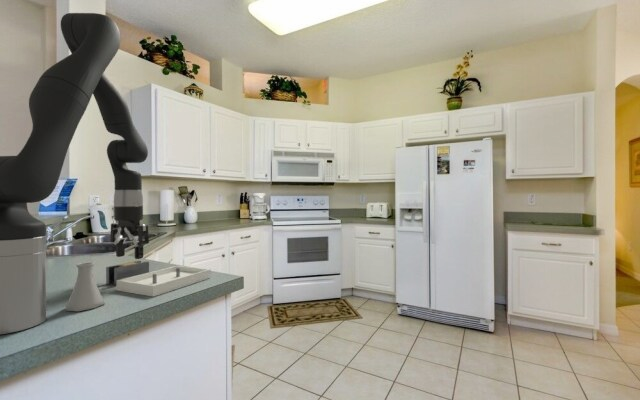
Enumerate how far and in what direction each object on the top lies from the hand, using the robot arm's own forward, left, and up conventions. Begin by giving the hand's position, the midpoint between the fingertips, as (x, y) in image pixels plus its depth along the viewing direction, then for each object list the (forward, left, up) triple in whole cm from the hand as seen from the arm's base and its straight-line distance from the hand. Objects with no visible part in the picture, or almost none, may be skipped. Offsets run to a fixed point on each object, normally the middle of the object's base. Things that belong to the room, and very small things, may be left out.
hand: (129, 257), depth 92 cm
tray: (+2, -14, -7) cm, 16 cm away
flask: (-19, -13, -7) cm, 24 cm away
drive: (0, 0, -7) cm, 7 cm away
